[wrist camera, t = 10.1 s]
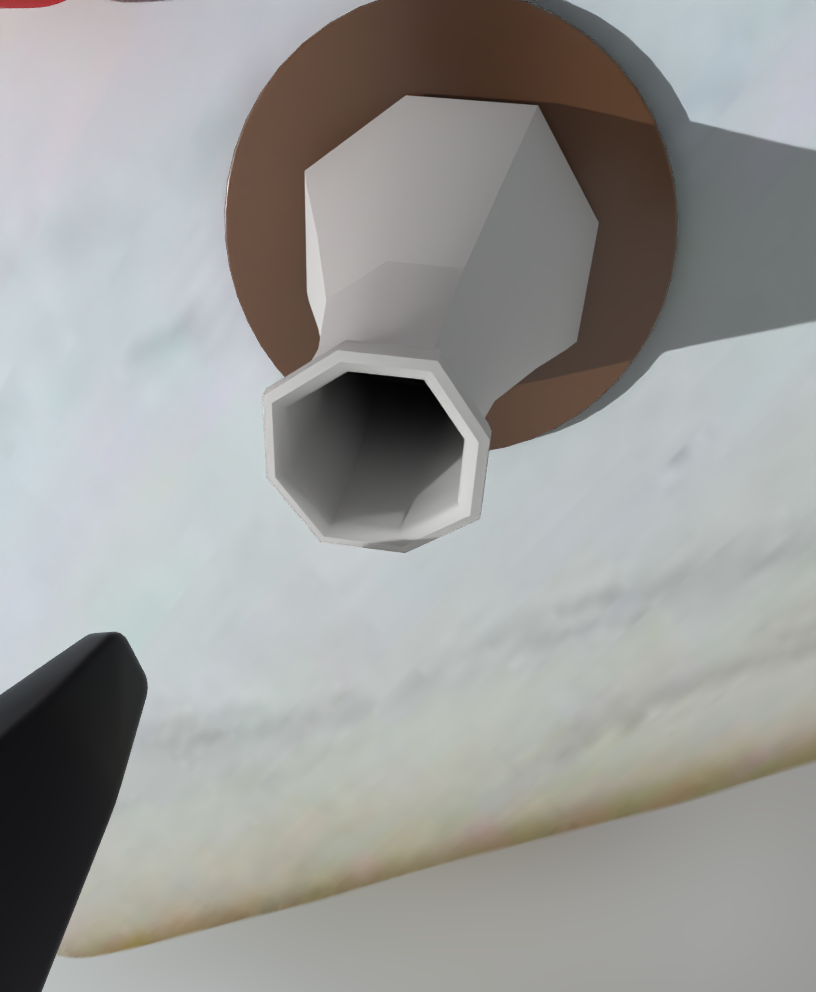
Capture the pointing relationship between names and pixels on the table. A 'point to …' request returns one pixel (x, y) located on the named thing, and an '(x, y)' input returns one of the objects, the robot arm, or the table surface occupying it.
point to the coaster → (479, 77)
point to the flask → (424, 314)
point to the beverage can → (27, 3)
